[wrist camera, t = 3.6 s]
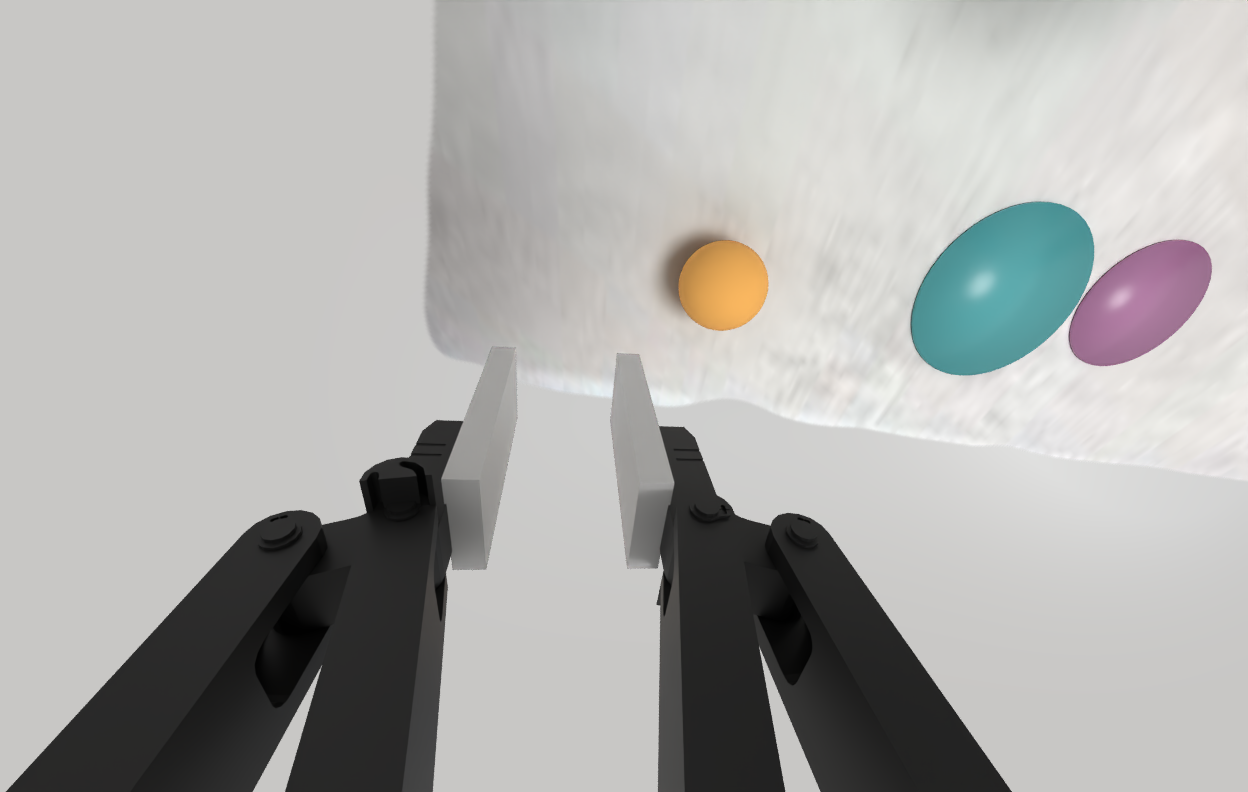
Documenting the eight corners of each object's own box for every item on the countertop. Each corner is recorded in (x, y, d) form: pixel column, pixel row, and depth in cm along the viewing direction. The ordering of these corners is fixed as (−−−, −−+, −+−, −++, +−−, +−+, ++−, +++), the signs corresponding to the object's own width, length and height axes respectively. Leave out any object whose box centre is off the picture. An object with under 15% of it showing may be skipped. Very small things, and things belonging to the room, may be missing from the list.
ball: (678, 228, 30) (697, 248, 25) (759, 235, 30) (793, 256, 25) (666, 310, 32) (681, 341, 28) (741, 315, 33) (768, 346, 28)
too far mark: (1122, 234, 32) (1125, 234, 32) (1239, 245, 34) (1243, 246, 33) (1044, 361, 37) (1046, 362, 37) (1149, 367, 39) (1151, 368, 38)
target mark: (960, 192, 30) (962, 193, 30) (1130, 211, 32) (1133, 211, 31) (884, 370, 36) (886, 371, 36) (1029, 377, 38) (1031, 379, 38)
